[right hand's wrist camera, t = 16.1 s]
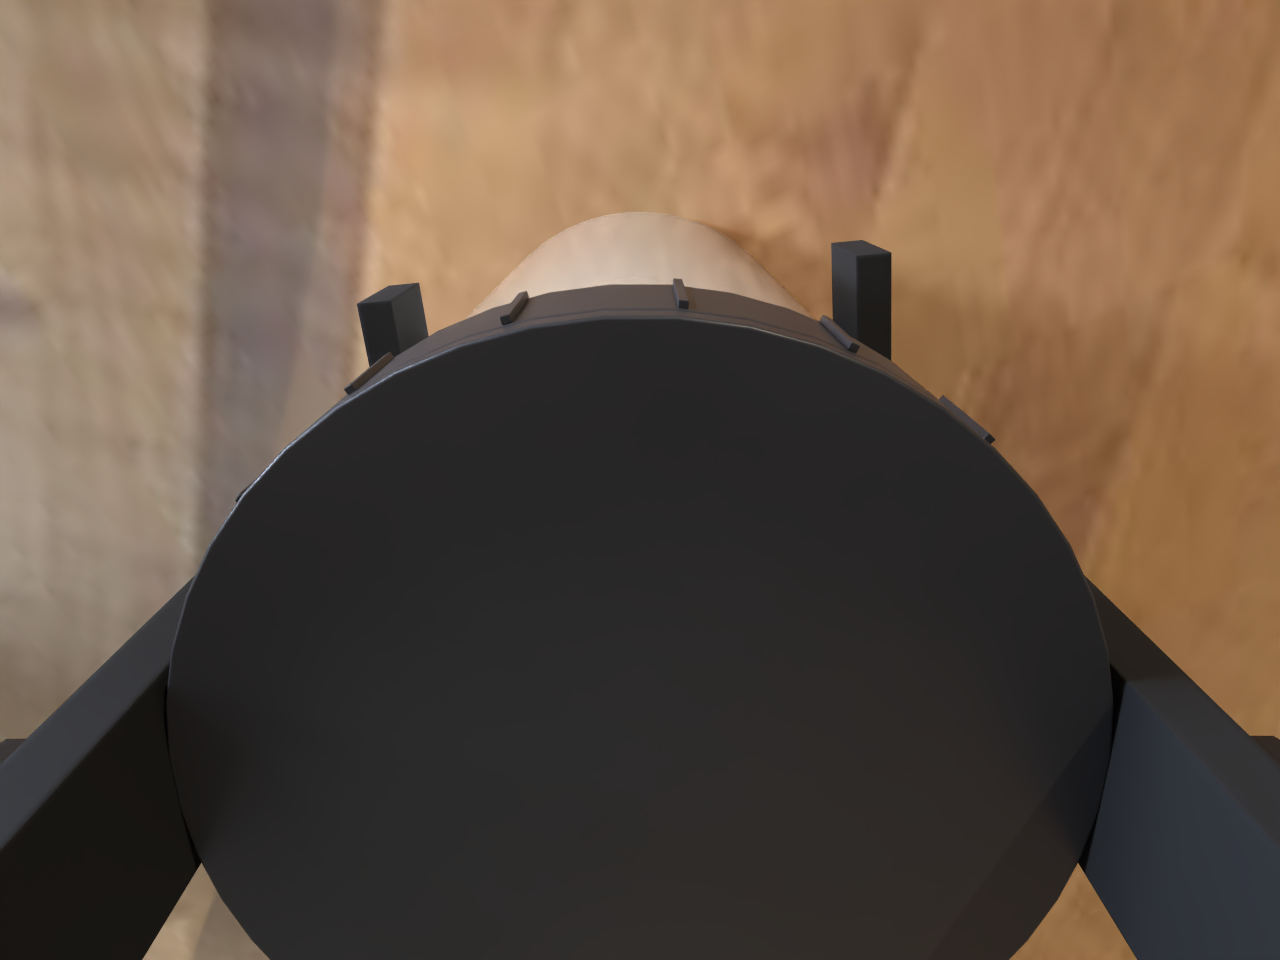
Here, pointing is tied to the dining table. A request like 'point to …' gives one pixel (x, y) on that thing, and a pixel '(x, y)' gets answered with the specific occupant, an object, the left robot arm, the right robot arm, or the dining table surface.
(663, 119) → the dining table surface
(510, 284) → the jar
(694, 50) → the dining table surface
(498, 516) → the lid
